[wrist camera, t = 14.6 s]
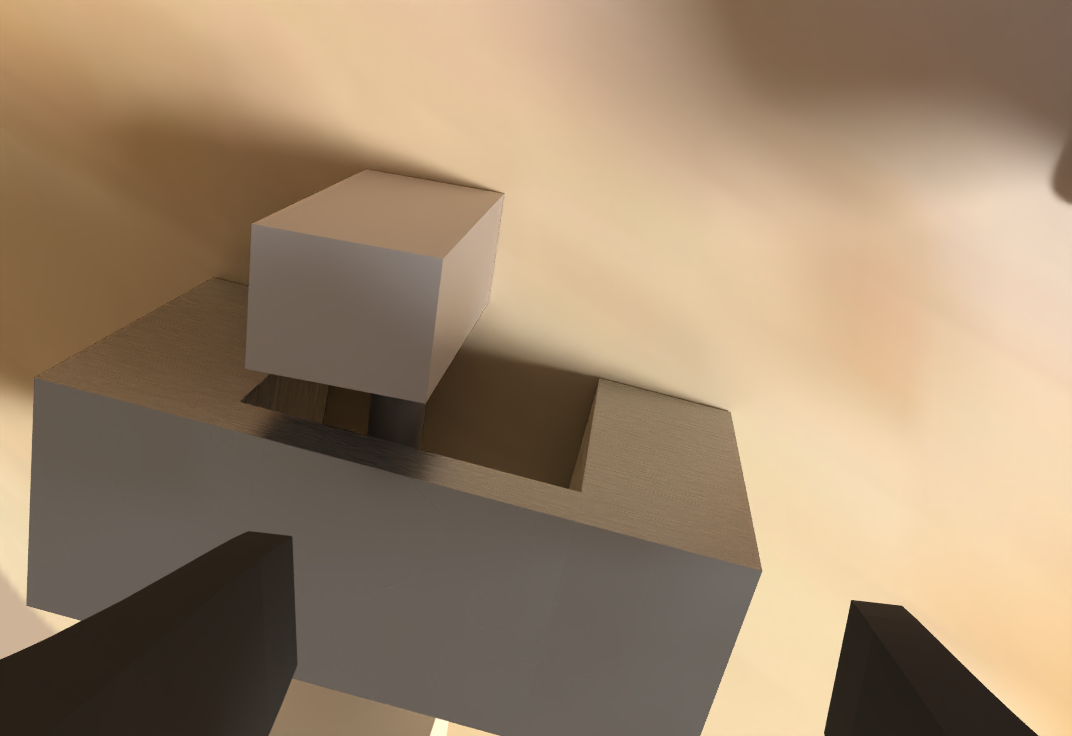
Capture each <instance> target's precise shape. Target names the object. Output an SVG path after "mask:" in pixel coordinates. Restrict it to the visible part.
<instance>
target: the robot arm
mask: <svg viewBox="0 0 1072 736" xmlns="http://www.w3.org/2000/svg"><path fill="white" fill-rule="evenodd" d="M297 665H298V664H297V639H296V614H295V589H294V563H293V538H292V536H288V535H279V534H270V533H261V532H253V531H247V532H245V533H243V534H241V535H239V536H236V537H234V538H232V539H231V540H229V541H227V542H225V543H223V544H221V545H219V546H218V547H216V548H214V549H212V550H210V551H209V552H207V553H205V554H203V555H201V556H200V557H198V558H196V559H194V560H193V561H191V562H189V563H187V564H186V565H184V566H182V567H180V568H179V569H177V570H175V571H173V572H172V573H170V574H168V575H166V576H164V577H163V578H161V579H159V580H157V581H156V582H154V583H152V584H150V585H148V586H147V587H145V588H143V589H141V590H139V591H138V592H136V593H134V594H132V595H131V596H129V597H127V598H125V599H123V600H121V601H120V602H118V603H116V604H114V605H112V606H110V607H108V608H106V609H104V610H102V611H100V612H98V613H96V614H94V615H92V616H90V617H88V618H86V619H84V620H82V621H80V622H78V623H77V624H75V625H73V626H71V627H69V628H67V629H65V630H63V631H61V632H59V633H57V634H55V635H53V636H51V637H49V638H47V639H45V640H43V641H41V642H39V643H36V644H34V645H32V646H30V647H28V648H25V649H23V650H21V651H19V652H17V653H14V654H12V655H10V656H8V657H5V658H3V659H1V660H0V736H268V735H269V734H270V731H271V729H272V727H273V724H274V722H275V720H276V717H277V715H278V713H279V710H280V708H281V706H282V703H283V701H284V698H285V696H286V693H287V690H288V688H289V685H290V683H291V680H292V678H293V675H294V673H295V670H296V668H297ZM824 734H825V736H1038V735H1037V734H1036V733H1035V732H1034V731H1033V730H1031V729H1030V728H1029V727H1028V726H1027V725H1026V724H1025V723H1024V722H1023V721H1021V720H1020V719H1019V718H1018V717H1017V716H1016V715H1015V714H1014V713H1013V712H1012V711H1011V710H1010V709H1008V708H1007V707H1006V706H1005V705H1004V704H1003V703H1002V702H1001V701H1000V700H999V699H998V698H997V697H996V696H995V695H994V694H993V693H992V692H990V691H989V690H988V689H987V688H986V687H985V686H984V685H983V684H982V683H981V682H980V681H979V680H978V679H977V678H976V677H975V676H974V675H973V674H972V673H971V672H970V671H969V670H968V669H967V668H966V667H965V666H964V665H963V664H962V663H961V662H960V661H959V660H958V659H957V658H956V657H955V656H954V655H952V654H951V653H950V652H949V651H948V650H947V649H946V648H945V647H944V646H943V645H942V644H941V643H940V642H939V641H938V640H937V639H936V638H935V637H934V636H933V635H932V634H931V633H930V632H929V631H928V630H927V629H926V628H925V627H924V626H923V625H922V624H921V623H920V622H919V621H918V620H917V619H916V618H915V617H914V616H913V615H912V614H910V613H909V612H908V611H907V610H906V609H905V608H904V607H903V606H899V605H890V604H881V603H872V602H864V601H855V600H851V604H850V609H849V614H848V619H847V624H846V629H845V633H844V638H843V643H842V648H841V653H840V658H839V663H838V668H837V672H836V677H835V682H834V687H833V692H832V697H831V702H830V707H829V711H828V716H827V721H826V726H825V731H824Z"/></svg>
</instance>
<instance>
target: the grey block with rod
mask: <svg viewBox="0 0 1072 736" xmlns="http://www.w3.org/2000/svg"><path fill="white" fill-rule="evenodd" d="M503 199H504V193H498V192H493V191H487V190H481V189H476V188H470V187H465V186H459V185H453V184H448V183H442V182H436V181H431V180H425V179H419V178H414V177H408V176H403V175H397V174H391V173H386V172H380V171H374V170H369V169H365V170H363V171H361V172H359V173H357V174H355V175H353V176H351V177H349V178H347V179H344V180H342V181H340V182H338V183H336V184H334V185H332V186H330V187H328V188H326V189H323V190H321V191H319V192H317V193H315V194H313V195H311V196H309V197H307V198H305V199H302V200H300V201H298V202H296V203H294V204H292V205H290V206H288V207H286V208H284V209H282V210H279V211H277V212H275V213H273V214H271V215H269V216H267V217H265V218H263V219H261V220H258V221H256V222H254V223H252V225H251V247H250V269H249V292H248V314H247V337H246V359H245V369H249V370H254V371H259V372H264V373H270V374H275V375H280V376H285V377H290V378H296V379H301V380H306V381H311V382H316V383H321V384H327V385H332V386H337V387H342V388H347V389H353V390H358V391H363V392H368V393H371V400H370V410H369V420H368V430H367V436H370V437H374V438H378V439H382V440H386V441H389V442H393V443H397V444H401V445H404V446H408V447H412V448H416V449H419V450H421V442H422V433H423V425H424V417H425V409H426V402H427V400H428V399H429V397H430V396H431V394H432V392H433V391H434V389H435V388H436V386H437V384H438V383H439V381H440V380H441V378H442V376H443V375H444V373H445V371H446V370H447V368H448V367H449V365H450V363H451V362H452V360H453V359H454V357H455V355H456V354H457V352H458V351H459V349H460V347H461V346H462V344H463V342H464V341H465V339H466V338H467V336H468V334H469V333H470V331H471V330H472V328H473V326H474V325H475V323H476V322H477V320H478V318H479V317H480V315H481V313H482V312H483V310H484V309H485V307H486V305H487V304H488V302H489V298H490V291H491V284H492V277H493V270H494V263H495V255H496V248H497V241H498V234H499V227H500V220H501V213H502V206H503ZM447 728H448V721H445V720H441V719H438V718H434V717H431V716H427V715H423V714H420V713H416V712H412V711H409V710H405V709H401V708H398V707H394V706H390V705H387V704H383V703H379V702H376V701H372V700H369V699H365V698H361V697H358V696H354V695H350V694H347V693H343V692H339V691H336V690H332V689H328V688H325V687H321V686H318V685H314V684H310V683H307V682H303V681H299V680H296V679H292V680H291V683H290V685H289V688H288V690H287V693H286V696H285V698H284V701H283V703H282V706H281V708H280V710H279V713H278V715H277V717H276V720H275V722H274V724H273V727H272V729H271V731H270V734H269V735H268V736H446V734H447Z"/></svg>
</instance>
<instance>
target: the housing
mask: <svg viewBox="0 0 1072 736" xmlns="http://www.w3.org/2000/svg"><path fill="white" fill-rule="evenodd" d="M248 292H249V286H245V285H241V284H237V283H233V282H229V281H226V280H222V279H218V278H214V277H213V278H212V279H210V280H208V281H206V282H204V283H203V284H201V285H199V286H197V287H196V288H194V289H192V290H190V291H188V292H187V293H185V294H183V295H181V296H179V297H178V298H176V299H174V300H172V301H170V302H169V303H167V304H165V305H163V306H162V307H160V308H158V309H156V310H154V311H153V312H151V313H149V314H147V315H145V316H144V317H142V318H140V319H138V320H136V321H135V322H133V323H131V324H129V325H128V326H126V327H124V328H122V329H120V330H119V331H117V332H115V333H113V334H111V335H110V336H108V337H106V338H104V339H103V340H101V341H99V342H97V343H95V344H94V345H92V346H90V347H88V348H86V349H85V350H83V351H81V352H79V353H77V354H76V355H74V356H72V357H70V358H69V359H67V360H65V361H63V362H61V363H60V364H58V365H56V366H54V367H52V368H51V369H49V370H47V371H45V372H43V373H42V374H40V375H38V376H36V377H35V378H34V404H33V433H32V462H31V490H30V519H29V548H28V576H27V605H26V606H30V607H33V608H37V609H40V610H44V611H48V612H51V613H55V614H59V615H62V616H66V617H70V618H73V619H77V620H81V621H82V620H84V619H86V618H88V617H90V616H92V615H94V614H96V613H98V612H100V611H102V610H104V609H106V608H108V607H110V606H112V605H114V604H116V603H118V602H120V601H121V600H123V599H125V598H127V597H129V596H131V595H132V594H134V593H136V592H138V591H139V590H141V589H143V588H145V587H147V586H148V585H150V584H152V583H154V582H156V581H157V580H159V579H161V578H163V577H164V576H166V575H168V574H170V573H172V572H173V571H175V570H177V569H179V568H180V567H182V566H184V565H186V564H187V563H189V562H191V561H193V560H194V559H196V558H198V557H200V556H201V555H203V554H205V553H207V552H209V551H210V550H212V549H214V548H216V547H218V546H219V545H221V544H223V543H225V542H227V541H229V540H231V539H232V538H234V537H236V536H239V535H241V534H243V533H245V532H247V531H253V532H261V533H270V534H279V535H288V536H292V538H293V563H294V589H295V614H296V639H297V664H298V665H297V668H296V670H295V673H294V675H293V678H292V679H296V680H299V681H303V682H307V683H310V684H314V685H318V686H321V687H325V688H328V689H332V690H336V691H339V692H343V693H347V694H350V695H354V696H358V697H361V698H365V699H369V700H372V701H376V702H379V703H383V704H387V705H390V706H394V707H398V708H401V709H405V710H409V711H412V712H416V713H420V714H423V715H427V716H431V717H434V718H438V719H441V720H445V721H449V722H452V723H456V724H460V725H463V726H467V727H471V728H474V729H478V730H482V731H485V732H489V733H492V734H496V735H500V736H700V735H701V732H702V730H703V727H704V724H705V722H706V719H707V716H708V714H709V711H710V708H711V706H712V703H713V700H714V698H715V695H716V692H717V690H718V687H719V684H720V682H721V679H722V677H723V674H724V671H725V669H726V666H727V663H728V661H729V658H730V655H731V653H732V650H733V647H734V645H735V642H736V639H737V637H738V634H739V631H740V629H741V626H742V623H743V621H744V618H745V615H746V613H747V610H748V607H749V605H750V602H751V600H752V597H753V594H754V592H755V589H756V586H757V584H758V581H759V578H760V576H761V573H762V568H761V563H760V558H759V553H758V548H757V543H756V538H755V533H754V528H753V522H752V517H751V512H750V507H749V502H748V497H747V492H746V487H745V482H744V477H743V472H742V467H741V462H740V457H739V452H738V447H737V442H736V437H735V432H734V427H733V422H732V417H731V412H728V411H724V410H720V409H717V408H713V407H709V406H705V405H701V404H697V403H694V402H690V401H686V400H682V399H678V398H674V397H671V396H667V395H663V394H659V393H655V392H651V391H648V390H644V389H640V388H636V387H632V386H628V385H625V384H621V383H617V382H613V381H609V380H605V379H602V378H599V382H598V385H597V389H596V392H595V396H594V400H593V403H592V407H591V411H590V414H589V418H588V421H587V425H586V429H585V432H584V436H583V440H582V443H581V447H580V450H579V454H578V458H577V461H576V465H575V469H574V472H573V476H572V479H571V483H570V487H569V489H567V488H563V487H559V486H555V485H552V484H548V483H544V482H540V481H537V480H533V479H529V478H525V477H521V476H518V475H514V474H510V473H506V472H503V471H499V470H495V469H491V468H487V467H484V466H480V465H476V464H472V463H469V462H465V461H461V460H457V459H453V458H450V457H446V456H442V455H438V454H435V453H431V452H427V451H423V450H419V449H416V448H412V447H408V446H404V445H401V444H397V443H393V442H389V441H386V440H382V439H378V438H374V437H370V436H367V435H363V434H359V433H355V432H352V431H348V430H344V429H340V428H336V427H333V426H329V425H325V424H323V420H324V413H325V407H326V401H327V395H328V389H329V385H327V384H321V383H316V382H311V381H306V380H301V379H296V378H290V377H285V376H280V375H275V374H270V373H264V372H259V371H254V370H249V369H245V359H246V337H247V314H248Z"/></svg>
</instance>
